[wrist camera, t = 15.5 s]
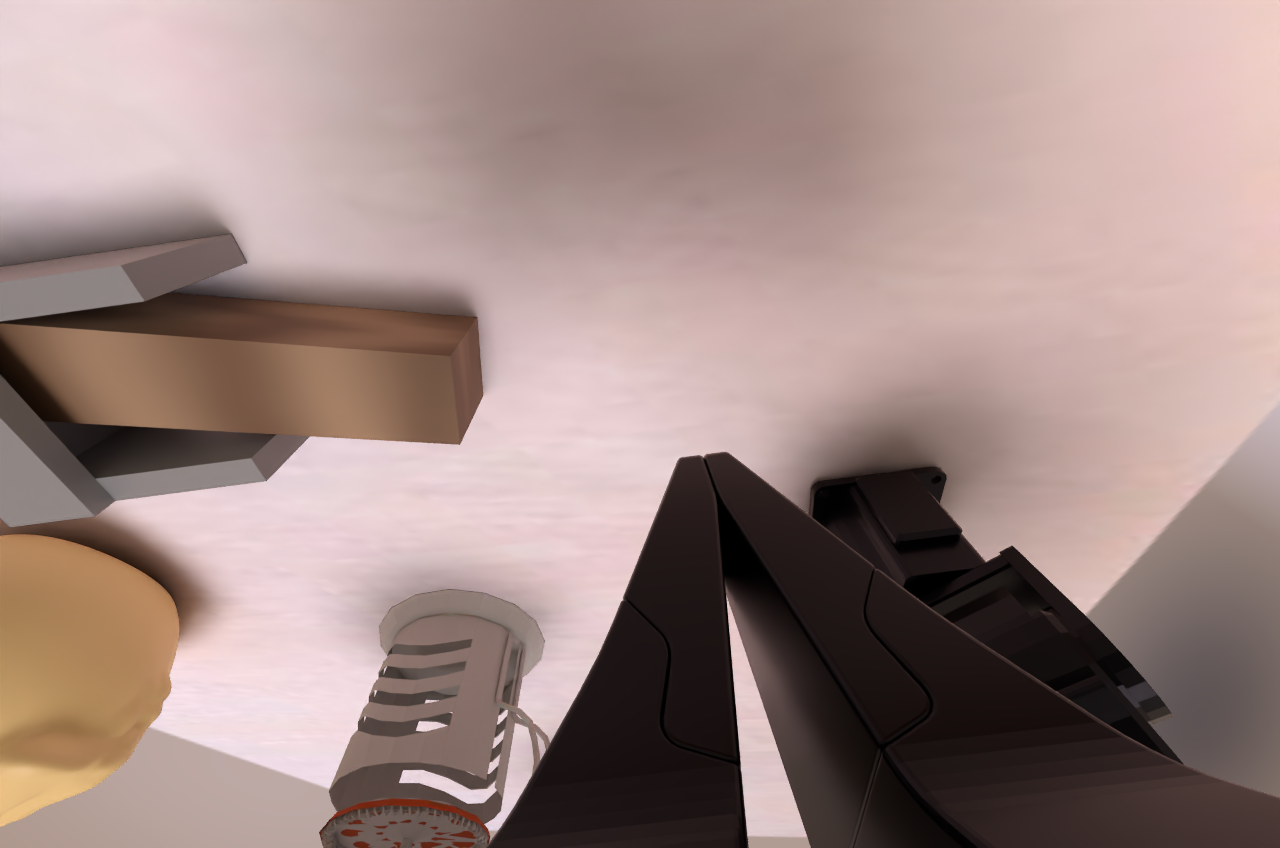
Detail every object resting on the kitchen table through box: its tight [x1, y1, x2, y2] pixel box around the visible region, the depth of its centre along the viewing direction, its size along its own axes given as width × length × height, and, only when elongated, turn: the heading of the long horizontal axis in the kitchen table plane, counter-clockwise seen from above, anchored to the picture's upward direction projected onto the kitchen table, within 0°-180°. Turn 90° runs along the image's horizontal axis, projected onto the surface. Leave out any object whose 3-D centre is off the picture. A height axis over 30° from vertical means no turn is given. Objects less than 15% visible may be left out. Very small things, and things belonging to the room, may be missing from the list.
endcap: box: [0, 234, 310, 527], centre depth 17 cm, size 8×9×5 cm
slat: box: [0, 293, 483, 445], centre depth 18 cm, size 14×4×4 cm, turn 84°
